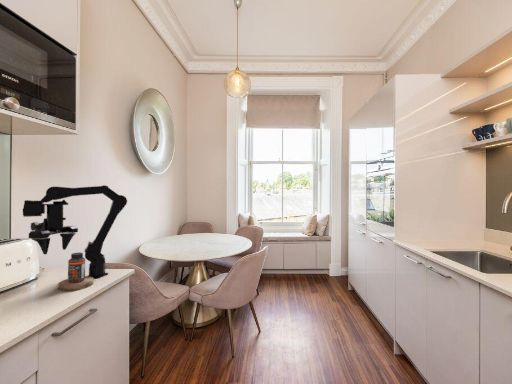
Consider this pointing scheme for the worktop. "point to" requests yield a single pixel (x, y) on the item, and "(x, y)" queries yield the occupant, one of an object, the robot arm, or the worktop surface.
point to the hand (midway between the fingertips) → (55, 251)
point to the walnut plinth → (75, 284)
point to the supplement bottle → (76, 268)
